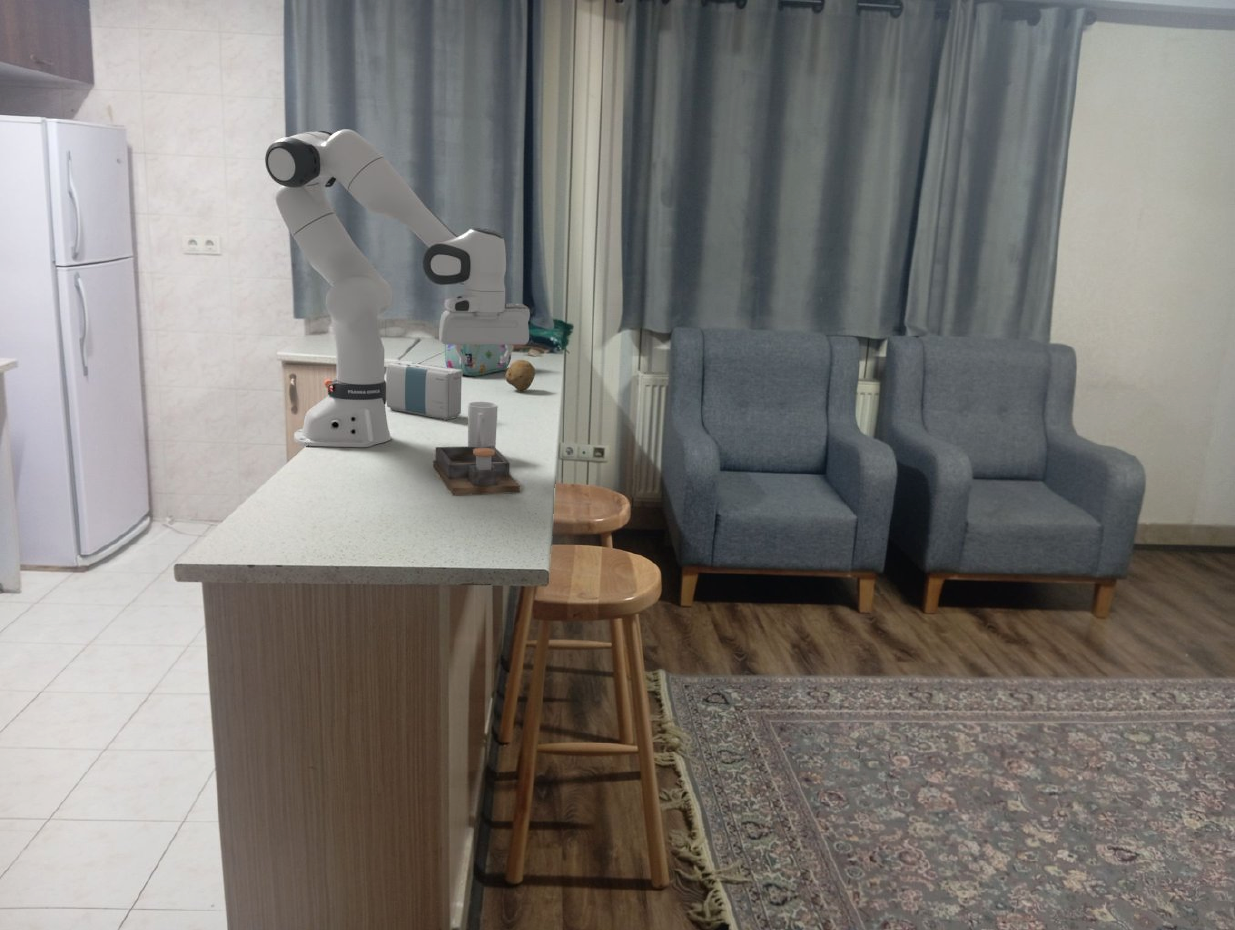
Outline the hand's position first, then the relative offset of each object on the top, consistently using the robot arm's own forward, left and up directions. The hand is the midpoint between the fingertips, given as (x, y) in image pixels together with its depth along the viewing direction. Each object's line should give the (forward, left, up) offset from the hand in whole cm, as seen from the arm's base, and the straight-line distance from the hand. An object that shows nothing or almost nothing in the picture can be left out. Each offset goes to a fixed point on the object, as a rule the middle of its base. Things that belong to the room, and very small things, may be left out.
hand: (483, 364), depth 230 cm
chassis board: (-6, -19, -22) cm, 29 cm away
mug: (0, 0, -22) cm, 22 cm away
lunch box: (+24, +111, -22) cm, 116 cm away
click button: (-6, -26, -18) cm, 33 cm away
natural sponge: (+30, +78, -22) cm, 86 cm away
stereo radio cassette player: (-5, +47, -22) cm, 52 cm away
